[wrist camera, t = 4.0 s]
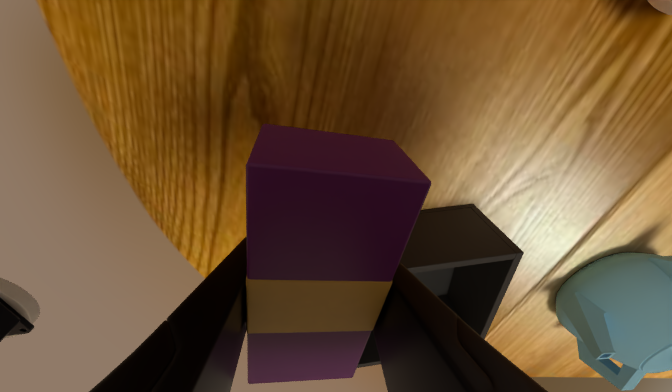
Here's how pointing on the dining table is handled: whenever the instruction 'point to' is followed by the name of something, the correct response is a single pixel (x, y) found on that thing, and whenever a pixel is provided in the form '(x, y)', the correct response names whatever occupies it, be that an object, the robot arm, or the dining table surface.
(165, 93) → the dining table surface
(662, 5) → the cat figurine
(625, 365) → the teakettle
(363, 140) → the chocolate bar
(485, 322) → the waste bin
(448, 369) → the robot arm
